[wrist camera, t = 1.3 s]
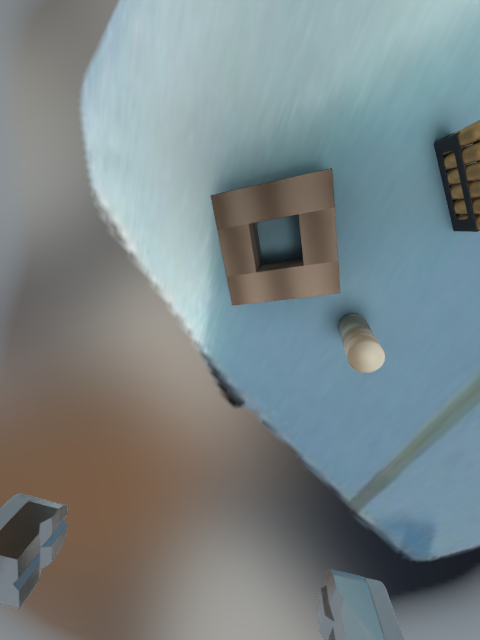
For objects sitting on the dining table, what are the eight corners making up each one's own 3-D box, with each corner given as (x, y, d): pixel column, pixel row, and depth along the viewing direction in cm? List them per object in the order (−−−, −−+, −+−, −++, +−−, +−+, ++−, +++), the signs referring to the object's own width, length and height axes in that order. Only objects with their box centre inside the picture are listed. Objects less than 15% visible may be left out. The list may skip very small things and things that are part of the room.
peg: (366, 312, 40) (384, 341, 31) (367, 337, 42) (385, 371, 33) (337, 314, 41) (347, 343, 32) (339, 339, 43) (348, 373, 34)
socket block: (327, 175, 35) (332, 168, 30) (335, 282, 40) (340, 293, 34) (223, 197, 39) (210, 195, 33) (241, 293, 43) (232, 305, 38)
